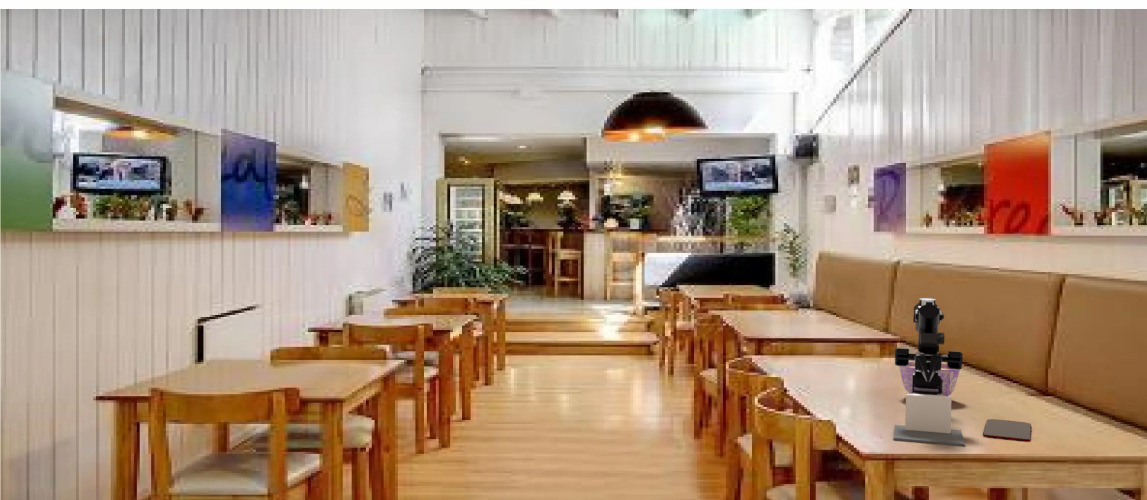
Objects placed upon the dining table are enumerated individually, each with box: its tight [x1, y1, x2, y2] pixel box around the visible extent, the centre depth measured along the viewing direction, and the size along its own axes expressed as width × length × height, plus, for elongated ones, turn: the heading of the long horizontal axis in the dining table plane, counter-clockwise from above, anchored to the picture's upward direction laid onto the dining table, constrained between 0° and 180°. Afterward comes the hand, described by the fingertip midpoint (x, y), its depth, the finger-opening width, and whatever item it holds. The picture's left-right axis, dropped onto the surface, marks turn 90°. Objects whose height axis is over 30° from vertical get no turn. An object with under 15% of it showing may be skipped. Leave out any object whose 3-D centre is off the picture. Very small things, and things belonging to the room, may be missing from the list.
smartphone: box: [982, 418, 1032, 443], centre depth 262 cm, size 12×2×25 cm
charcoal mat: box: [892, 424, 966, 447], centre depth 253 cm, size 19×18×1 cm
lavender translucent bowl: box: [898, 361, 961, 396], centre depth 315 cm, size 20×20×12 cm
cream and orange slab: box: [904, 392, 952, 433], centre depth 258 cm, size 3×12×10 cm, turn 70°
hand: (928, 381), depth 266 cm, fingers closed
